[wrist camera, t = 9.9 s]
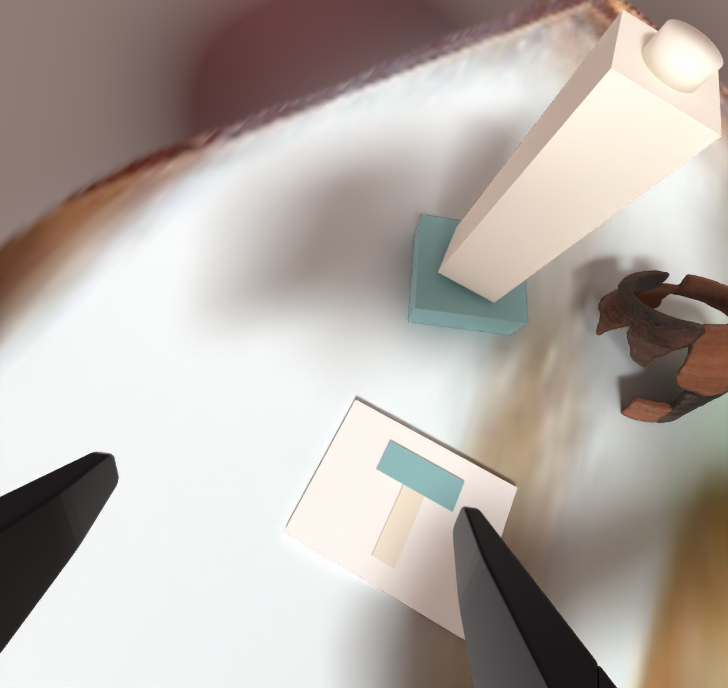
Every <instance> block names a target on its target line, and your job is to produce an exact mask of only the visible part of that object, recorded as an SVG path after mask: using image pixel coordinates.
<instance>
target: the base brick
mask: <svg viewBox="0 0 728 688" xmlns="http://www.w3.org/2000/svg"><path fill="white" fill-rule="evenodd" d="M461 221H462V220H457V219H450V218H443V217H436V216H429V215H421V216H420V219H419V222H418V225H417V228H416V231H415V234H414V246H413V260H412V274H411V288H410V302H409V316H408V322H413V323H421V324H429V325H436V326H444V327H452V328H459V329H467V330H474V331H482V332H490V333H497V334H505V335H512V334H513V333H515V332H516V331H517V330H519V329H520V328H522V327H523V326H524V325H526V324H527V323H528V316H527V298H526V281H523V282H522V283H520V284H519V285H518V286H516V287H515V288H514V289H512V290H511V291H510V292H508V293H507V294H505V295H504V296H503V297H501V298H500V299H499V300H497V301H496V302H495V303H494V302H492V301H490V300H488V299H486V298H484V297H482V296H481V295H479V294H477V293H475V292H473V291H471V290H469V289H468V288H466V287H464V286H462V285H460V284H458V283H456V282H455V281H453V280H451V279H449V278H447V277H445V276H443V275H442V274H440V273H438V271H439V268H440V266H441V264H442V261H443V259H444V256H445V254H446V251H447V249H448V247H449V244H450V242H451V239H452V237H453V234H454V232H455V230H456V227H457V226H458V225H459V223H460V222H461Z"/></svg>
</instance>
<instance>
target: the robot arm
mask: <svg viewBox="0 0 728 688" xmlns="http://www.w3.org/2000/svg"><path fill="white" fill-rule="evenodd" d="M118 478H119V476H118V471H117V467H116V462H115V458H114V456H113V455H112V454H110V453H103V452H93V453H90V454H88V455H86V456H84V457H82V458H80V459H78V460H76V461H73V462H71V463H69V464H67V465H65V466H63V467H61V468H59V469H57V470H55V471H53V472H51V473H49V474H47V475H44V476H42V477H40V478H38V479H36V480H34V481H32V482H30V483H28V484H26V485H24V486H22V487H20V488H18V489H16V490H13V491H11V492H9V493H7V494H5V495H3V496H1V497H0V653H1V652H2V651H3V649H4V648H5V646H6V645H7V644H8V642H9V641H10V640H11V638H12V637H13V636H14V634H15V633H16V632H17V630H18V629H19V627H20V626H21V625H22V623H23V622H24V621H25V619H26V618H27V617H28V615H29V614H30V613H31V611H32V610H33V609H34V607H35V606H36V604H37V603H38V602H39V600H40V599H41V598H42V596H43V595H44V594H45V592H46V591H47V590H48V588H49V587H50V586H51V584H52V583H53V581H54V580H55V579H56V577H57V576H58V575H59V573H60V572H61V571H62V569H63V568H64V567H65V565H66V564H67V563H68V561H69V560H70V558H71V557H72V556H73V554H74V553H75V551H76V550H77V549H78V547H79V546H80V544H81V543H82V541H83V539H84V538H85V536H86V535H87V533H88V531H89V530H90V528H91V527H92V525H93V523H94V522H95V520H96V518H97V517H98V515H99V513H100V512H101V510H102V509H103V507H104V505H105V504H106V502H107V500H108V499H109V497H110V496H111V494H112V492H113V491H114V489H115V487H116V485H117V483H118ZM453 545H454V557H455V569H456V581H457V592H458V602H459V608H460V615H461V620H462V626H463V631H464V637H465V642H466V648H467V653H468V659H469V664H470V670H471V676H472V681H473V687H474V688H617V687H616V686H615V685H614V683H613V682H612V681H611V679H610V678H609V677H608V675H607V674H606V673H605V672H604V670H603V669H602V668H601V667H600V666H598V665H597V662H596V660H595V659H594V658H593V656H592V655H591V654H590V652H589V651H588V650H587V648H586V647H585V646H584V645H583V643H582V642H581V641H580V639H579V638H578V637H577V635H576V634H575V633H574V632H573V630H572V629H571V628H570V626H569V625H568V624H567V622H566V621H565V620H564V619H563V617H562V616H561V615H560V613H559V612H558V611H557V609H556V608H555V607H554V606H553V604H552V603H551V602H550V600H549V599H548V598H547V596H546V595H545V594H544V593H543V591H542V590H541V589H540V587H539V586H538V585H537V584H536V582H535V581H534V580H533V578H532V577H531V576H530V574H529V573H528V572H527V571H526V569H525V568H524V567H523V565H522V564H521V563H520V561H519V560H518V559H517V558H516V556H515V555H514V554H513V552H512V551H511V550H510V548H509V547H508V546H507V545H506V543H505V542H504V541H503V539H502V538H501V537H500V535H499V534H498V533H497V532H496V530H495V529H494V528H493V526H492V525H491V524H490V522H489V521H488V520H487V519H486V517H485V516H484V515H483V513H482V512H481V511H480V510H479V509H477V508H473V507H466V506H464V507H462V508H461V510H460V512H459V514H458V517H457V519H456V522H455V524H454V527H453Z"/></svg>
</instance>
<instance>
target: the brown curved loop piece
mask: <svg viewBox="0 0 728 688" xmlns="http://www.w3.org/2000/svg"><path fill="white" fill-rule="evenodd" d="M668 277H669V273H668V272H661V271H656V270H653V271H643V272H637V273H634V274H631V275H628V276H627V277H625V278H624V279H623V280H622V281H621V282H620V284H619V285H618V289H617V290H615V291H613V292H611V293H609V294H607V295H606V296H604V297H603V298H602V299H601V300H600V303H599V304H598V309H599V311H600V319H599V323H598V325H597V331H596V334H597V335H601V334H603V333H604V332H607V331H609V330H612V329H617V328H621V327H625V326H629V325H630V328H629V330H628V332H627V339H628V343H629V346H630V356H631V358H632V359H633V360H634V361H635V362H636V363H637V364H639V365H640V366H642V367H647V366H649V364H650V363H651V362H652V361H654V359H655V358H656V357H660V356H663V355H666V354H668V353H670V352H672V351H675V350H679V349H682V348H685V347H688V353H687V357H686V359H685V361H684V363H683V365H682V366H681V367H680V368H679V370H678V371H677V384H678V385H679V386H680V387H682V388H683V389H685V390H684V391H683V392H682V393H681V395H680V396H679V397H678V399H677V400H675V401H673V402H672V403H664V402H657V401H652V400H648V399H644V398H641V397H635V398H633V400H632V401H631V403H630V405H629V406H627V407H626V408H624V409H623V410H622V411H621V413H622V414H623V415H624V416H627V417H630V418H632V419H635V420H640V421H644V422H657V423H664V422H671V421H674V420H676V419H678V418H680V417H681V416H683V415H685V414H687V413H689V412H691V411H693V410H695V409H696V408H698V407H699V406H703V405H705V404H706V403H708V402H710V401H712V400H713V399H716V398H718V397H720V396H722V395H723V394H725V393H727V392H728V324H699V323H694V322H690V321H685V320H680V319H677V318H674V317H671V316H668V315H665V314H663V313H661V312H658V311H656V310H654V309H655V308H657V307H659V305H660V304H661V301H662V299H663V298H665V297H666V296H667V295H669V294H674V295H680V296H684V297H687V298H691V299H695V300H699V301H701V302H704V303H706V304H707V305H709V306H711V307H713V308H715V309H718V310H719V311H721V312H723V313H724V314H725V315H727V316H728V286H727V285H724V284H721V283H719V282H716V281H713V280H710V279H707V278H703V277H700V276H696V275H689V274H688V275H686V276H685V278H684V279H683V280H682V282H681V283H680V284H679V285H674V284H666V283H663V282H664V281H665V280H666V279H667V278H668Z"/></svg>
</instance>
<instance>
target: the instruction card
mask: <svg viewBox="0 0 728 688" xmlns="http://www.w3.org/2000/svg"><path fill="white" fill-rule="evenodd" d="M516 491H517V487H515V486H513V485H511V484H510V483H508V482H506V481H504V480H502V479H500V478H499V477H497V476H495V475H493V474H491V473H489V472H488V471H486V470H484V469H482V468H480V467H478V466H477V465H475V464H473V463H471V462H469V461H467V460H466V459H464V458H462V457H460V456H458V455H456V454H455V453H453V452H451V451H449V450H447V449H445V448H444V447H442V446H440V445H438V444H436V443H434V442H433V441H431V440H429V439H427V438H425V437H423V436H422V435H420V434H418V433H416V432H414V431H412V430H411V429H409V428H407V427H405V426H403V425H401V424H400V423H398V422H396V421H394V420H392V419H390V418H389V417H387V416H385V415H383V414H381V413H379V412H377V411H376V410H374V409H372V408H370V407H368V406H366V405H365V404H363V403H361V402H359V401H357V400H355V401H354V403H353V405H352V407H351V409H350V410H349V412H348V414H347V416H346V418H345V420H344V422H343V423H342V425H341V427H340V429H339V431H338V433H337V434H336V436H335V438H334V440H333V442H332V444H331V446H330V447H329V449H328V451H327V453H326V455H325V457H324V458H323V460H322V462H321V464H320V466H319V468H318V470H317V471H316V473H315V475H314V477H313V479H312V481H311V482H310V484H309V486H308V488H307V490H306V492H305V494H304V495H303V497H302V499H301V501H300V503H299V505H298V507H297V508H296V510H295V512H294V514H293V516H292V518H291V519H290V521H289V523H288V525H287V527H286V529H285V531H284V532H285V533H287V534H288V535H290V536H292V537H293V538H295V539H297V540H298V541H300V542H302V543H303V544H305V545H307V546H308V547H310V548H312V549H313V550H315V551H317V552H318V553H320V554H322V555H323V556H325V557H327V558H328V559H330V560H332V561H333V562H335V563H337V564H338V565H340V566H342V567H343V568H345V569H347V570H348V571H350V572H352V573H353V574H355V575H357V576H358V577H360V578H362V579H363V580H365V581H367V582H369V583H370V584H372V585H374V586H375V587H377V588H379V589H380V590H382V591H384V592H385V593H387V594H389V595H390V596H392V597H394V598H395V599H397V600H399V601H400V602H402V603H404V604H405V605H407V606H409V607H410V608H412V609H414V610H415V611H417V612H419V613H420V614H422V615H424V616H425V617H427V618H429V619H430V620H432V621H434V622H435V623H437V624H439V625H440V626H442V627H444V628H445V629H447V630H449V631H450V632H452V633H454V634H455V635H457V636H459V637H460V638H462V639H464V640H465V637H464V631H463V626H462V620H461V615H460V608H459V602H458V592H457V581H456V569H455V557H454V545H453V527H454V524H455V522H456V519H457V517H458V514H459V512H460V510H461V508H462V507H464V506H466V507H473V508H477V509H479V510H480V511H481V512H482V513H483V515H484V516H485V517H486V519H487V520H488V521H489V522H490V524H491V525H492V526H493V528H494V529H495V530H496V532H497V533H498V534H499V535H500V537H501V536H502V533H503V530H504V527H505V524H506V521H507V518H508V515H509V512H510V509H511V506H512V503H513V500H514V497H515V494H516Z"/></svg>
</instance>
